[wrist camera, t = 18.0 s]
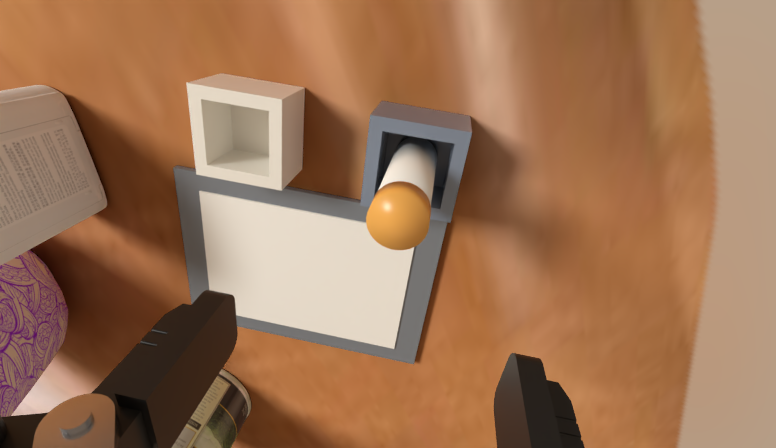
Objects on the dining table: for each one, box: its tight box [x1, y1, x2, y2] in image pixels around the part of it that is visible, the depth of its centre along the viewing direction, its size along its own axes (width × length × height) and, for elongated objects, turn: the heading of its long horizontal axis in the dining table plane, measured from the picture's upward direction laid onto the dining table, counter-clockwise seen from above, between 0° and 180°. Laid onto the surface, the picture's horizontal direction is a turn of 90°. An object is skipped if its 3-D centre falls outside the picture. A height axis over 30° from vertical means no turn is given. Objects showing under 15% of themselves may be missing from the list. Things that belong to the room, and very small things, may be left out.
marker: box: [366, 136, 438, 250], centre depth 23 cm, size 3×3×10 cm
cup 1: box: [187, 73, 305, 191], centre depth 26 cm, size 6×6×4 cm
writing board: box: [173, 165, 447, 364], centre depth 33 cm, size 15×21×1 cm
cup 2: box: [360, 101, 472, 223], centre depth 26 cm, size 6×6×4 cm
